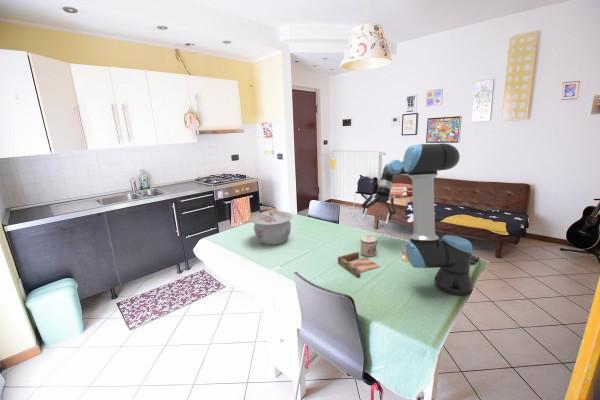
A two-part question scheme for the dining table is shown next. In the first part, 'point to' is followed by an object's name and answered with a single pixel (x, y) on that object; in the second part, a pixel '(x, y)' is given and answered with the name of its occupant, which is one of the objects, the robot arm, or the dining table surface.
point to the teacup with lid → (368, 245)
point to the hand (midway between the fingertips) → (374, 221)
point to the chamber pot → (272, 227)
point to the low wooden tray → (356, 263)
